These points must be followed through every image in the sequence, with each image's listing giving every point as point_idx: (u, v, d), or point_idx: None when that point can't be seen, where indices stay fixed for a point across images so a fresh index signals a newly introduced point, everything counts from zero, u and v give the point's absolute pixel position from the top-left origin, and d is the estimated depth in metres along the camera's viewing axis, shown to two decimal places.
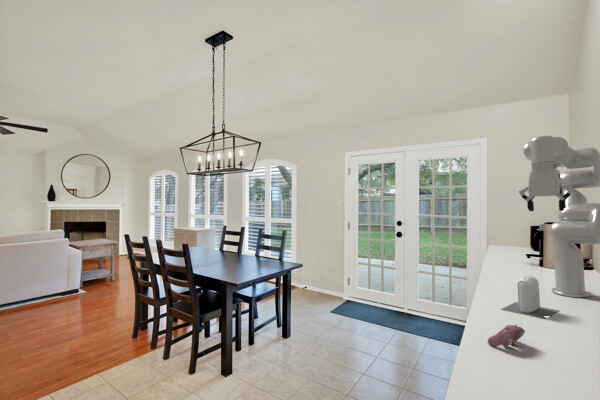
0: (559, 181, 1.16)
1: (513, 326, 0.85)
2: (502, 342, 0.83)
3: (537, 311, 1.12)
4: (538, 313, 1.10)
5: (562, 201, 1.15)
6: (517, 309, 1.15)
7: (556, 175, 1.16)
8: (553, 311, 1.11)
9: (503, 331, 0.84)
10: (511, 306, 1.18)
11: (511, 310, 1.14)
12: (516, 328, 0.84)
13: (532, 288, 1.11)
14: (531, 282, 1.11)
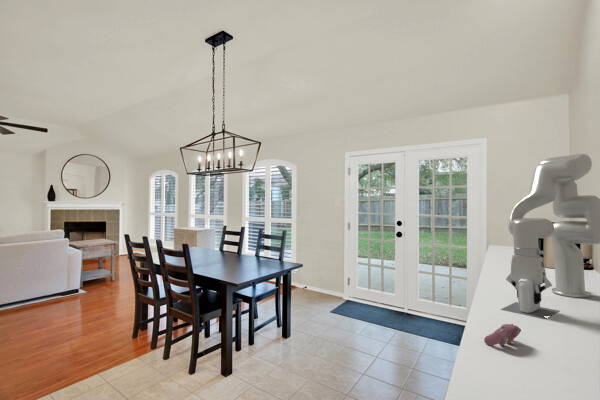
0: (542, 270, 1.10)
1: (509, 325, 0.86)
2: (498, 341, 0.84)
3: (537, 311, 1.12)
4: (538, 313, 1.10)
5: (537, 294, 1.11)
6: (517, 309, 1.15)
7: (539, 264, 1.10)
8: (553, 311, 1.11)
9: (499, 330, 0.84)
10: (511, 306, 1.18)
11: (511, 310, 1.14)
12: (512, 327, 0.85)
13: (532, 288, 1.11)
14: (531, 282, 1.11)
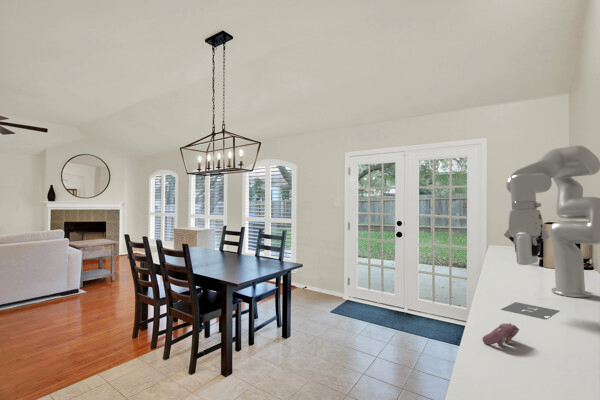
0: (539, 222, 1.10)
1: (507, 324, 0.86)
2: (496, 340, 0.84)
3: (537, 311, 1.12)
4: (538, 313, 1.10)
5: (535, 246, 1.12)
6: (517, 309, 1.15)
7: (536, 216, 1.10)
8: (553, 311, 1.11)
9: (497, 329, 0.85)
10: (511, 306, 1.18)
11: (511, 310, 1.14)
12: (510, 326, 0.85)
13: (530, 241, 1.12)
14: (529, 235, 1.12)
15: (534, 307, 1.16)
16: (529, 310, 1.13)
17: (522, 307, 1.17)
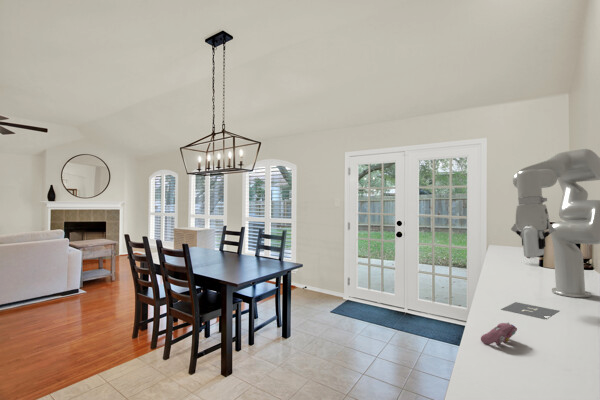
0: (546, 216, 1.14)
1: (505, 324, 0.87)
2: (495, 340, 0.85)
3: (537, 311, 1.12)
4: (538, 313, 1.10)
5: (542, 240, 1.16)
6: (517, 309, 1.15)
7: (543, 210, 1.14)
8: (553, 311, 1.11)
9: (496, 329, 0.85)
10: (511, 306, 1.18)
11: (511, 310, 1.14)
12: (508, 326, 0.86)
13: (536, 234, 1.16)
14: (535, 229, 1.16)
15: (534, 307, 1.16)
16: (529, 310, 1.13)
17: (522, 307, 1.17)
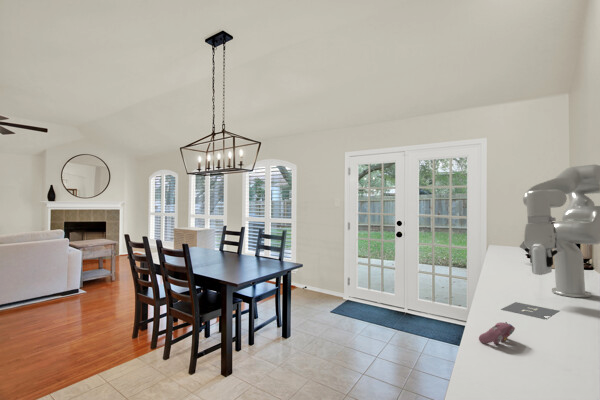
0: (554, 236, 1.19)
1: (503, 323, 0.87)
2: (493, 339, 0.85)
3: (537, 311, 1.12)
4: (538, 313, 1.10)
5: (550, 258, 1.20)
6: (517, 309, 1.15)
7: (551, 230, 1.19)
8: (553, 311, 1.11)
9: (494, 328, 0.86)
10: (511, 306, 1.18)
11: (511, 310, 1.14)
12: (506, 325, 0.86)
13: (544, 252, 1.20)
14: (544, 247, 1.20)
15: (534, 307, 1.16)
16: (529, 310, 1.13)
17: (522, 307, 1.17)
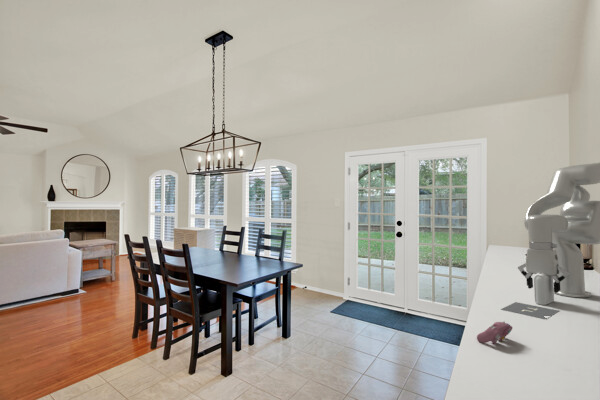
0: (556, 262, 1.18)
1: (501, 323, 0.87)
2: (490, 338, 0.85)
3: (537, 311, 1.12)
4: (538, 313, 1.10)
5: (557, 283, 1.18)
6: (517, 309, 1.15)
7: (553, 256, 1.18)
8: (553, 311, 1.11)
9: (491, 328, 0.86)
10: (511, 306, 1.18)
11: (511, 310, 1.14)
12: (504, 325, 0.87)
13: (547, 282, 1.19)
14: (547, 276, 1.20)
15: (534, 307, 1.16)
16: (529, 310, 1.13)
17: (522, 307, 1.17)
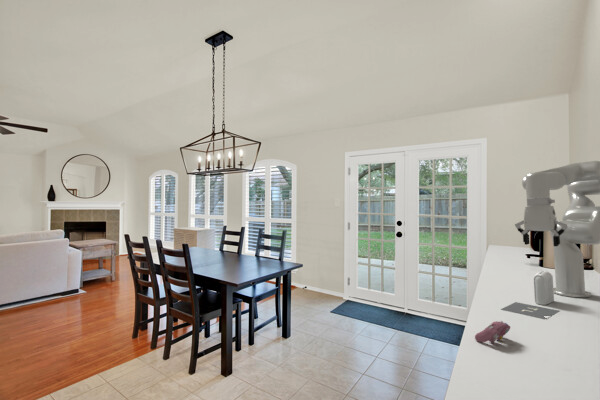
0: (553, 217, 1.19)
1: (499, 322, 0.88)
2: (489, 338, 0.86)
3: (537, 311, 1.12)
4: (538, 313, 1.10)
5: (556, 237, 1.18)
6: (517, 309, 1.15)
7: (550, 211, 1.19)
8: (553, 311, 1.11)
9: (490, 327, 0.86)
10: (511, 306, 1.18)
11: (511, 310, 1.14)
12: (502, 324, 0.87)
13: (547, 282, 1.19)
14: (547, 276, 1.20)
15: (534, 307, 1.16)
16: (529, 310, 1.13)
17: (522, 307, 1.17)
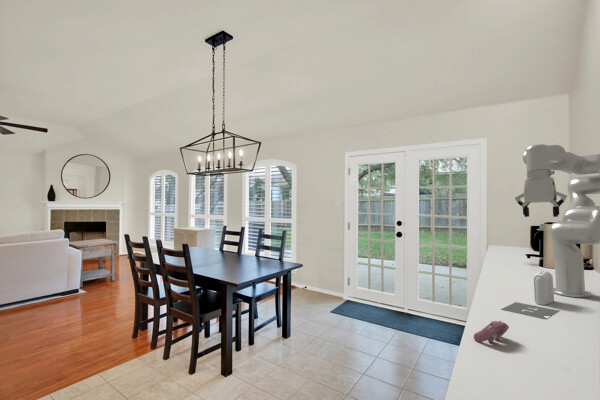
0: (553, 188, 1.20)
1: (498, 322, 0.88)
2: (487, 337, 0.86)
3: (537, 311, 1.12)
4: (538, 313, 1.10)
5: (556, 207, 1.20)
6: (517, 309, 1.15)
7: (550, 182, 1.21)
8: (553, 311, 1.11)
9: (488, 327, 0.87)
10: (511, 306, 1.18)
11: (511, 310, 1.14)
12: (500, 324, 0.87)
13: (547, 282, 1.19)
14: (547, 276, 1.20)
15: (534, 307, 1.16)
16: (529, 310, 1.13)
17: (522, 307, 1.17)
